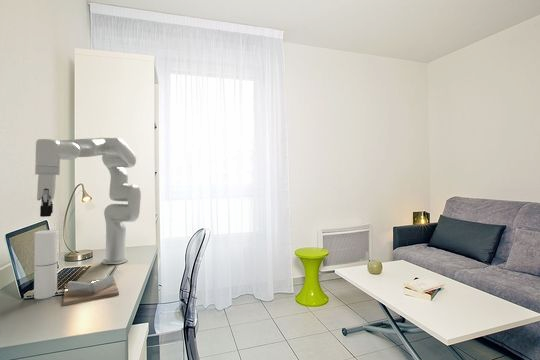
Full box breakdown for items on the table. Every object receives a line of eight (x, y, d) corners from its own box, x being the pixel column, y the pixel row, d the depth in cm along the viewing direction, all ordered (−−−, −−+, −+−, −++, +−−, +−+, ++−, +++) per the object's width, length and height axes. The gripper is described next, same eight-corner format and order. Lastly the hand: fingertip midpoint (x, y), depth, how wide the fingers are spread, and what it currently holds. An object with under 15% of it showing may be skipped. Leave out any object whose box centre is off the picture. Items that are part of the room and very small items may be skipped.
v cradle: (64, 287, 121) (65, 274, 121) (113, 279, 132) (113, 268, 132) (63, 305, 105) (63, 291, 105) (118, 294, 115) (119, 282, 115)
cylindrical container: (44, 299, 109) (45, 234, 109) (29, 297, 110) (30, 232, 110) (61, 292, 116) (62, 230, 116) (46, 290, 117) (47, 229, 117)
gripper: (37, 170, 117) (36, 212, 118) (32, 170, 103) (31, 218, 103) (60, 171, 122) (59, 212, 122) (58, 171, 107) (57, 217, 108)
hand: (46, 214), depth 113 cm, fingers open, 9 cm apart
